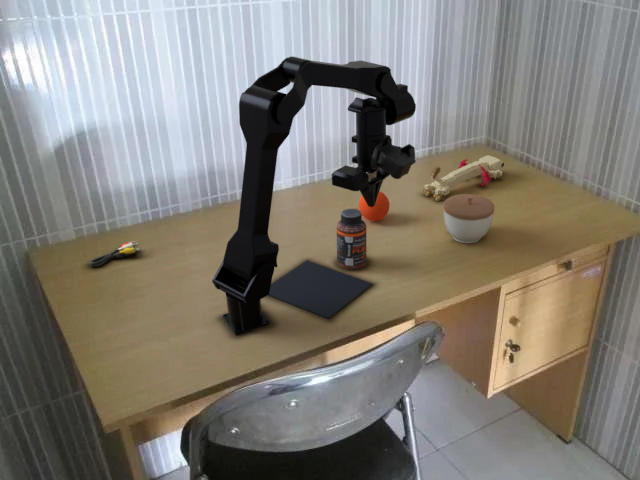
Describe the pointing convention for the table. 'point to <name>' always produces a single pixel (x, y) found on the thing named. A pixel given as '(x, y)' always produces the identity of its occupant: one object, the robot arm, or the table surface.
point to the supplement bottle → (351, 239)
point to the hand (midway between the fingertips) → (371, 206)
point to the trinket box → (468, 217)
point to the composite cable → (116, 253)
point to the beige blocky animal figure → (464, 175)
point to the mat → (317, 289)
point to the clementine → (375, 208)
